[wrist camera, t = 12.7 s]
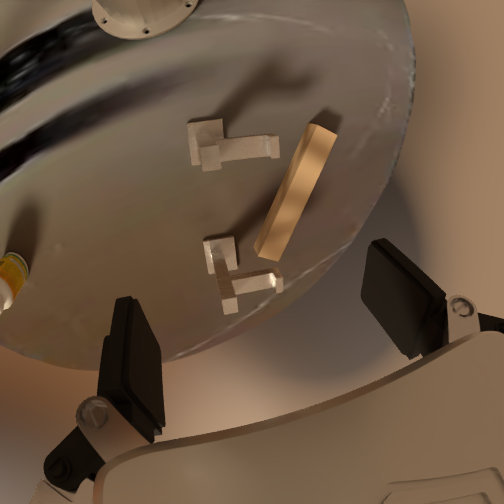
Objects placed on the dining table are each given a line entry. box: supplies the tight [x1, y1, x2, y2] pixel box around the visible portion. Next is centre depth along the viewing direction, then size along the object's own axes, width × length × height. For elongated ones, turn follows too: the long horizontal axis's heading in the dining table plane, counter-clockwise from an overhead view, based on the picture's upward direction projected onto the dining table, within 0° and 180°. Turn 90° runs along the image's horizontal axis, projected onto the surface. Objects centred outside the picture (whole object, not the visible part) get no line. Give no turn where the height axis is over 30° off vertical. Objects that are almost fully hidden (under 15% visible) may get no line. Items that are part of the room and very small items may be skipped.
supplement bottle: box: [0, 252, 28, 314], centre depth 28 cm, size 5×5×10 cm
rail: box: [253, 123, 337, 261], centre depth 36 cm, size 18×3×3 cm, turn 157°
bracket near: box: [187, 119, 280, 172], centre depth 27 cm, size 5×8×11 cm, turn 94°
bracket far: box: [203, 235, 283, 315], centre depth 34 cm, size 5×8×11 cm, turn 94°
